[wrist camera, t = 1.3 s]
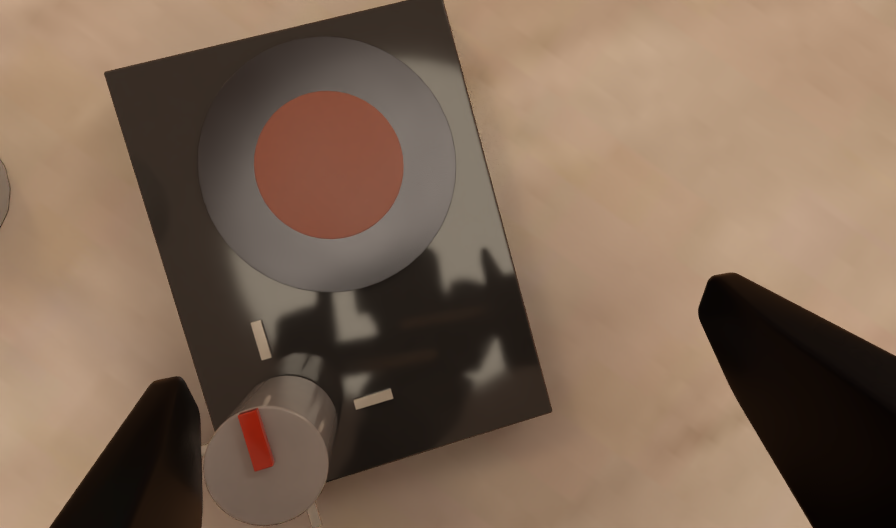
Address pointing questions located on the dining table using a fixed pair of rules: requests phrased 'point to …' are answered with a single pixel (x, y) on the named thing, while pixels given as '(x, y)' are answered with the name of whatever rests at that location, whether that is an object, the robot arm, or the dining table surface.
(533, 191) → the dining table surface
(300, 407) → the hob knob
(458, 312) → the hob
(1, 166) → the chalice
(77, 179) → the dining table surface
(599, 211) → the dining table surface
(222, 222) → the burner
